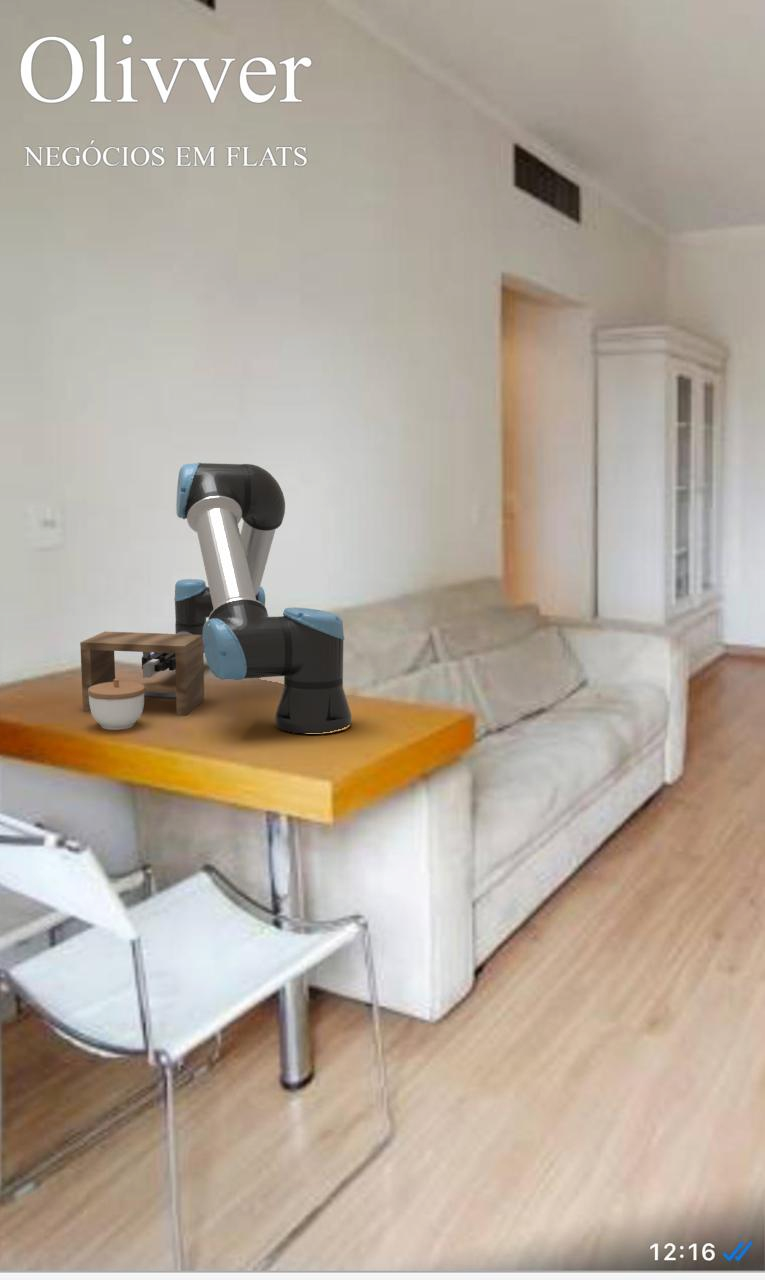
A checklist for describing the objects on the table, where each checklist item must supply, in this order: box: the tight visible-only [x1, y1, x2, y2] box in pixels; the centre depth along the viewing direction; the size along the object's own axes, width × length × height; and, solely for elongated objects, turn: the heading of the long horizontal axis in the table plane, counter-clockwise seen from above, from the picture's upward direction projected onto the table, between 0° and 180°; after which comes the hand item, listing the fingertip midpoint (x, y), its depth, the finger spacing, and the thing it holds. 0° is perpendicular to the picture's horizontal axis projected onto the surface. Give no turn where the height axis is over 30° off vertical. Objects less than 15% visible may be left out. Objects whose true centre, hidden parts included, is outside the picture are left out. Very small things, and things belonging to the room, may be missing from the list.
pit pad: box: [144, 690, 176, 700], centre depth 213 cm, size 18×4×1 cm, turn 84°
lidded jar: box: [88, 678, 146, 731], centre depth 188 cm, size 11×11×9 cm
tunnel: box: [79, 631, 205, 716], centre depth 204 cm, size 22×13×14 cm, turn 84°
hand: (146, 671), depth 207 cm, fingers closed
